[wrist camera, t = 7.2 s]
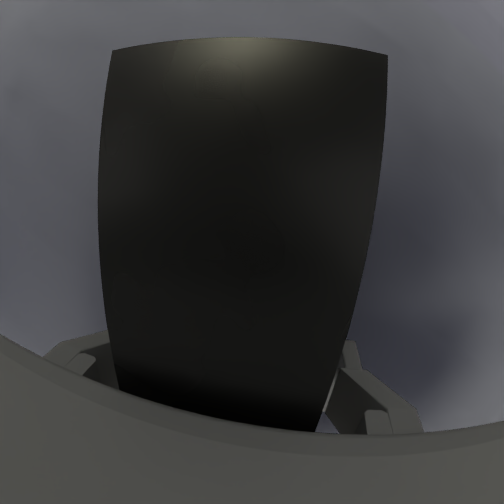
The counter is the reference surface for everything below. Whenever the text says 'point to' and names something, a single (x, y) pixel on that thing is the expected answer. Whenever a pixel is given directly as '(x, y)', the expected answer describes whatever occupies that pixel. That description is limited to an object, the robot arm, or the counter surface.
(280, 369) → the dark grey elongated piece
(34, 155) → the counter surface
